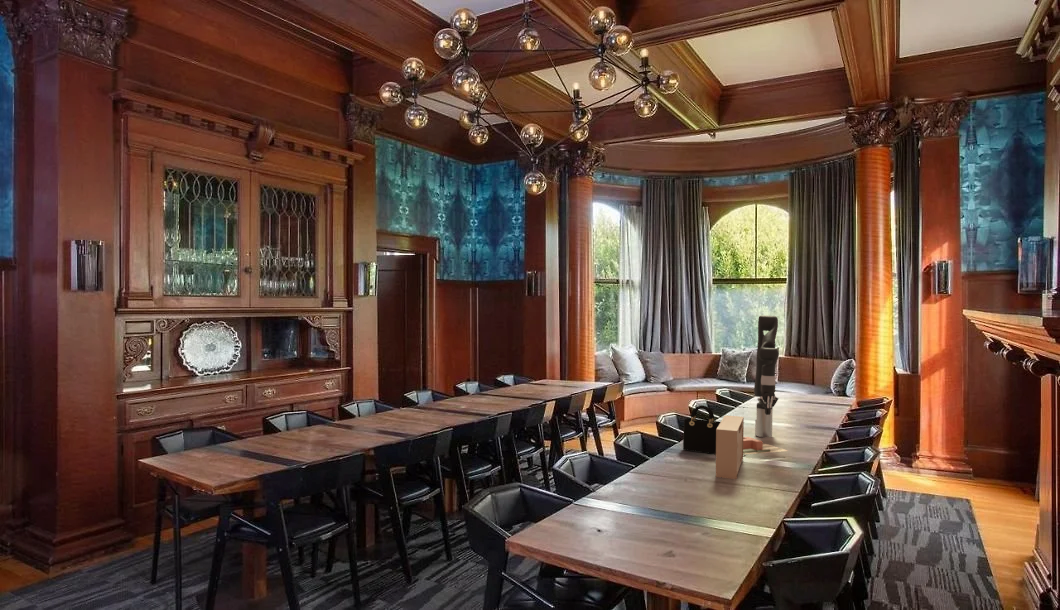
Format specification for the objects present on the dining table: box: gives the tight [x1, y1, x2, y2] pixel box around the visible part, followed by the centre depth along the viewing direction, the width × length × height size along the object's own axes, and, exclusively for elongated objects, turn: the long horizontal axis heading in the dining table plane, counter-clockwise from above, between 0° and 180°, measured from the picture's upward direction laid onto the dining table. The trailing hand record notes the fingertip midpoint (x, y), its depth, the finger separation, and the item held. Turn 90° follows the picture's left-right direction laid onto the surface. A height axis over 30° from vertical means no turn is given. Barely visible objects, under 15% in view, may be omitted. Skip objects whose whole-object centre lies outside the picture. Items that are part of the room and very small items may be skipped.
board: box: [743, 442, 789, 457], centre depth 354 cm, size 24×28×2 cm
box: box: [715, 414, 745, 480], centre depth 315 cm, size 10×40×22 cm, turn 157°
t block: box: [743, 436, 764, 450], centre depth 352 cm, size 12×11×5 cm
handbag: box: [682, 405, 721, 455], centre depth 350 cm, size 21×9×25 cm, turn 58°
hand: (767, 414), depth 356 cm, fingers closed
